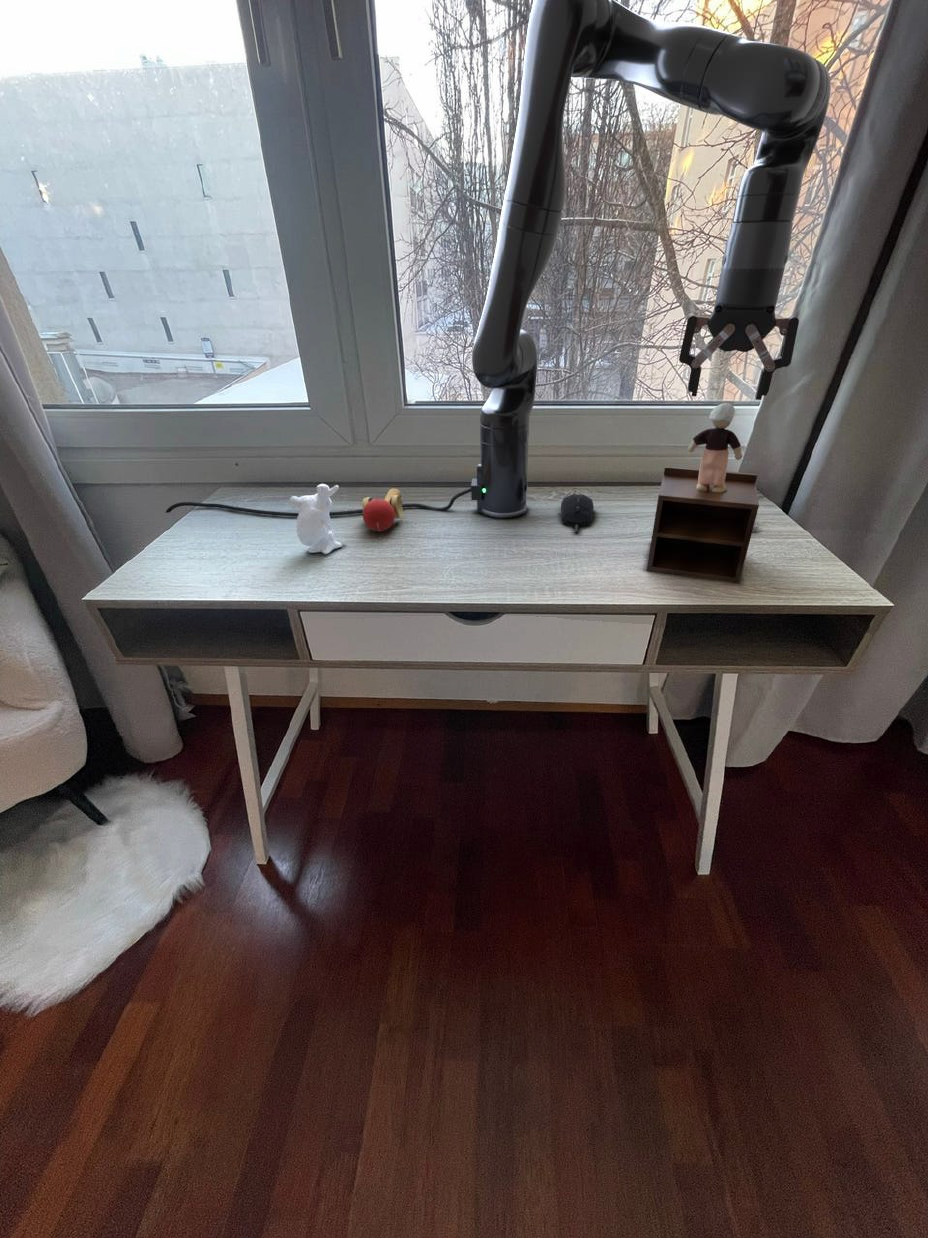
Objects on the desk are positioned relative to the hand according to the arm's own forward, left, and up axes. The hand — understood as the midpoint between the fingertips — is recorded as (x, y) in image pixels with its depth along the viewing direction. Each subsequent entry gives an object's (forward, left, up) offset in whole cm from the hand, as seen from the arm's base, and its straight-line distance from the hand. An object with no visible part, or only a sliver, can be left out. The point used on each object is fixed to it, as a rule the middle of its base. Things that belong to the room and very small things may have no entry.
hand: (725, 397), depth 84 cm
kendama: (-58, +2, -27) cm, 64 cm away
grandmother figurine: (0, 0, -14) cm, 14 cm away
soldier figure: (+7, +19, -27) cm, 34 cm away
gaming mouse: (-22, +13, -27) cm, 37 cm away
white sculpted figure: (-62, -15, -27) cm, 69 cm away
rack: (0, 0, -26) cm, 26 cm away
